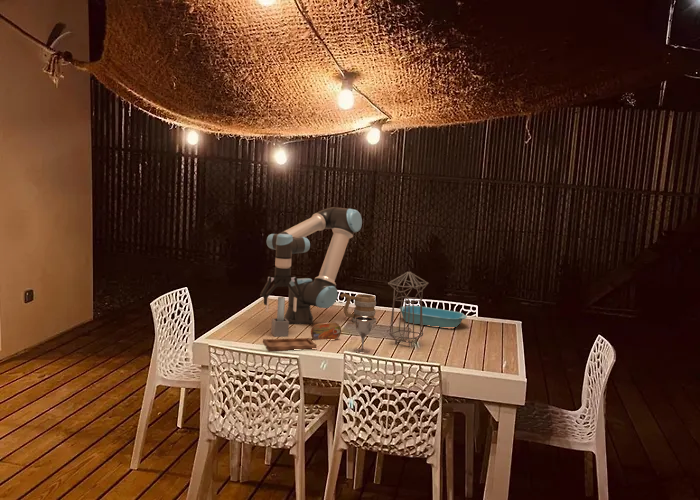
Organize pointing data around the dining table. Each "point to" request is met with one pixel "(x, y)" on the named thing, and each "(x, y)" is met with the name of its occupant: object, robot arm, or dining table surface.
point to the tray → (288, 344)
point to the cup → (280, 328)
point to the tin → (325, 331)
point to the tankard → (360, 306)
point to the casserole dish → (433, 316)
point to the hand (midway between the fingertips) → (280, 311)
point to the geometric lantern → (409, 305)
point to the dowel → (280, 309)
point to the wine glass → (363, 330)
